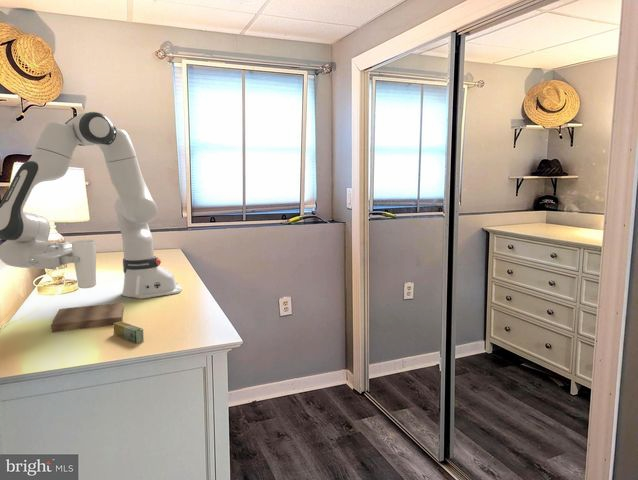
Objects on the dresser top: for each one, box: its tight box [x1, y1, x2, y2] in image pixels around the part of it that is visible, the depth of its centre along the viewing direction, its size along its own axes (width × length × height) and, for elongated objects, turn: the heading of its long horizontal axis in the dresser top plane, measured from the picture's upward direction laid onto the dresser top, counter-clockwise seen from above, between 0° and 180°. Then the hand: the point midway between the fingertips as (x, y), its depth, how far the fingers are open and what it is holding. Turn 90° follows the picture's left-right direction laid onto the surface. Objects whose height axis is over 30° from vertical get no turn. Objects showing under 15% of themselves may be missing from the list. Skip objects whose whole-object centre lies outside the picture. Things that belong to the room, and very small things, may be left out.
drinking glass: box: [71, 239, 97, 289], centre depth 150 cm, size 7×7×15 cm
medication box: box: [112, 321, 145, 345], centre depth 139 cm, size 12×3×4 cm, turn 55°
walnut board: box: [50, 302, 125, 333], centre depth 154 cm, size 20×16×2 cm
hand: (86, 257), depth 150 cm, fingers closed on drinking glass, 6 cm apart
